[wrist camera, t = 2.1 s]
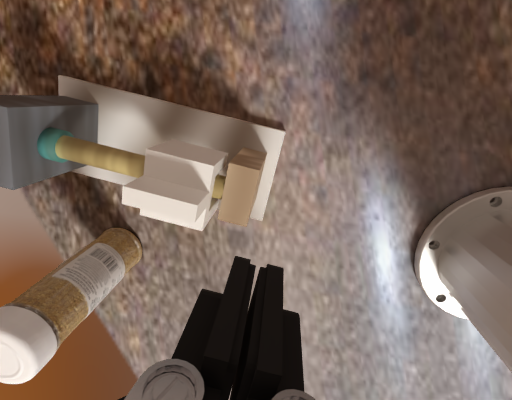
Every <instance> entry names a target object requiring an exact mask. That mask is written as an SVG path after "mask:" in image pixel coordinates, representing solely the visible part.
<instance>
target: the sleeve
mask: <svg viewBox="0 0 512 400" xmlns="http://www.w3.org/2000/svg"><path fill="white" fill-rule="evenodd" d="M227 158H228V153H226V152H222V151H218V150H214V149H210V148H206V147H202V146H198V145H194V144H190V143H186V142H182V141H178V140H174V139H172V140H169V141H166V142H163V143H161V144H158V145H155V146H152V147H149V148H146V153H145V164H144V175H143V176H141V177H139V178H137V179H135V180H133V181H132V182H130V183H128V184H126V185H124V186H123V192H122V204H125V205H129V206H133V207H136V208H140V215H143V216H146V217H150V218H154V219H158V220H162V221H165V222H169V223H173V224H177V225H181V226H185V227H188V228H192V229H196V230H200V231H203V229H204V228H205V226H206V225H207V223H208V221H209V220H210V218H211V217H212V215H213V214H214V212H215V211H216V209H217V208H218V203H219V199H217V198H213V197H212V193H213V187H214V182H215V177H216V175H217V174H218V173H219V172H220V171H221V170H222V169H223V168H224V167H225V166H226V163H227Z"/></svg>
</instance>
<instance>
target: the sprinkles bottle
mask: <svg viewBox="0 0 512 400" xmlns="http://www.w3.org/2000/svg"><path fill="white" fill-rule="evenodd" d="M141 256H142V247H141V244H140V241H139V240H138V239H137V237H136V236H135V235H134V234H132V233H131V232H130V231H128V230H126V229H123V228H110V229H108V230H106V231H104V232H103V233H102V235H100V237H98V238H97V239H96V240H94V241H93V242H91V243H90V244H89V245H87V246H85V247H83V248H82V249H80V250H79V251H78V252H76V253H75V254H74V255H72V256H71V257H70V258H68V259H67V260H65V261H64V262H63V263H61V264H60V265H59V266H58V268H56V269H55V270H53V271H52V272H51V273H49V274H48V275H46V276H45V277H44V278H43V279H41V280H40V281H39V282H37V283H36V284H35V285H33V286H32V287H31V288H30V289H28V290H27V291H26V292H24V293H23V294H21V295H20V296H19V297H18V298H16V299H15V300H14V301H12V302H11V303H9V304H6V305H4V306H3V307H0V382H2V383H7V384H20V383H24V382H27V381H29V380H30V379H32V378H33V377H34V376H35V375H36V374H37V373H38V372H39V371H40V370H41V369H42V368H43V367H44V366H45V365H46V363H47V362H48V361H49V360H50V359H51V358H52V357H53V356H54V354H55V352H56V350H57V349H58V348H59V346H60V344H61V343H62V342H63V341H64V340H65V339H66V337H67V336H68V335H69V334H70V333H71V332H72V331H73V330H74V329H75V328H76V327H77V326H78V325H79V323H81V322H82V321H83V320H84V319H85V318H86V317H87V316H88V315H89V314H90V313H91V312H92V311H93V310H94V308H95V307H96V306H97V305H98V304H99V303H100V302H101V301H102V300H103V299H104V298H105V297H106V296H107V294H108V293H109V292H110V291H111V290H112V289H113V288H114V287H115V286H116V285H117V284H118V283H119V281H120V280H121V279H122V278H123V276H124V275H125V274H126V273H127V272H128V271H129V270H130V269H131V267H132V266H134V265H135V264H137V263H138V262H139V260H140V259H141Z"/></svg>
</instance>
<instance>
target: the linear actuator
mask: <svg viewBox="0 0 512 400" xmlns="http://www.w3.org/2000/svg"><path fill="white" fill-rule="evenodd" d="M58 92H59V96H31V95H0V187H4V188H8V189H11V190H15V189H18V188H21V187H24V186H27V185H30V184H33V183H36V182H39V181H42V180H45V179H48V178H51V177H54V176H57V175H60V174H63V173H66V172H69V171H71V172H75V173H79V174H83V175H87V176H91V177H94V178H98V179H102V180H106V181H110V182H114V183H118V184H121V185H126V184H128V183H130V182H132V181H133V180H135V179H137V178H139V177H141V176H143V175H144V164H145V153H146V148H149V147H152V146H155V145H158V144H161V143H163V142H166V141H169V140H172V139H174V140H178V141H182V142H186V143H190V144H194V145H198V146H202V147H206V148H210V149H214V150H218V151H222V152H226V153H228V158H227V163H226V166H225V167H224V168H223V169H222V170H221V171H220V172H219V173H218V174H217V175H216V177H215V182H214V187H213V193H212V197H213V198H217V199H219V203H218V208H217V209H218V210H219V215H218V220H222V221H226V222H229V223H233V224H237V225H241V226H245V227H246V226H247V223H248V220H249V218H252V219H256V220H260V221H262V219H263V216H264V212H265V208H266V204H267V200H268V196H269V193H270V189H271V185H272V181H273V177H274V174H275V170H276V166H277V162H278V158H279V155H280V151H281V147H282V143H283V139H284V135H285V131H284V130H280V129H276V128H272V127H268V126H264V125H260V124H256V123H252V122H248V121H244V120H240V119H236V118H232V117H228V116H224V115H220V114H216V113H212V112H208V111H204V110H200V109H196V108H192V107H188V106H184V105H180V104H176V103H172V102H168V101H164V100H160V99H156V98H152V97H148V96H144V95H140V94H136V93H132V92H128V91H124V90H120V89H116V88H112V87H108V86H104V85H100V84H96V83H92V82H88V81H84V80H80V79H76V78H72V77H68V76H62V75H58Z"/></svg>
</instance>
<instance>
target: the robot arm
mask: <svg viewBox="0 0 512 400" xmlns="http://www.w3.org/2000/svg"><path fill="white" fill-rule="evenodd" d="M414 266H415V273H416V277H417V279H418V282H419V284H420V286H421V288H422V289H423V291H424V292H425V294H426V295H427V297H428V298H429V299H430V300H431V301H432V302H433V303H434V304H435V305H436V306H438V307H439V308H440V309H442V310H443V311H445V312H447V313H449V314H451V315H453V316H456V317H459V318H463V319H467V320H470V321H471V323H472V324H473V325H474V326H475V328H476V329H477V330H478V331H479V333H480V334H481V335H482V336H483V338H484V339H485V340H486V341H487V343H488V344H489V345H490V346H491V348H492V349H493V350H494V351H495V353H496V354H497V355H498V356H499V357H500V359H501V360H502V361H503V362H504V364H505V365H506V366H507V367H508V369H509V370H510V371H511V372H512V187H500V188H491V189H487V190H484V191H480V192H476V193H474V194H471V195H469V196H467V197H464V198H462V199H460V200H458V201H457V202H455V203H453V204H452V205H450V206H449V207H447V208H446V209H444V210H443V211H442V212H441V213H440V214H439V215H438V216H436V217H435V218H434V219H433V221H432V222H431V223H430V224H429V225H428V227H427V228H426V229H425V231H424V233H423V235H422V236H421V238H420V240H419V242H418V246H417V249H416V252H415V261H414ZM255 267H256V265H252V264H250V259H246V258H242V257H238V256H235V258H234V261H233V265H232V268H231V271H230V274H229V277H228V280H227V284H226V287H225V290H224V293H223V294H221V293H217V292H214V291H210V290H206V289H202V290H201V292H200V294H199V297H198V299H197V301H196V303H195V306H194V308H193V310H192V313H191V315H190V317H189V320H188V322H187V324H186V326H185V329H184V331H183V333H182V336H181V338H180V340H179V343H178V345H177V347H176V349H175V352H174V354H173V356H172V359H166V360H163V361H160V362H157V363H155V364H154V365H152V366H150V367H149V368H148V369H147V370H146V371H145V372H144V373H143V374H142V375H141V376H140V378H139V379H138V381H137V382H136V383H135V385H134V386H133V388H132V389H131V390H130V392H129V393H128V395H127V396H125V397H123V398H121V399H118V400H228V399H229V395H230V392H231V396H230V400H315V399H314V398H313V397H312V396H310V395H309V394H307V393H305V392H304V380H303V364H302V348H301V332H300V318H299V314H298V313H296V312H292V311H288V310H284V309H283V268H281V267H277V266H273V265H270V264H267V267H266V268H264V267H260V270H259V273H258V277H257V281H256V284H255V288H254V291H253V295H252V299H251V302H250V306H249V301H250V295H251V290H252V284H253V278H254V273H255ZM248 307H249V309H248ZM247 312H248V313H247ZM231 388H232V391H231Z"/></svg>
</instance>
